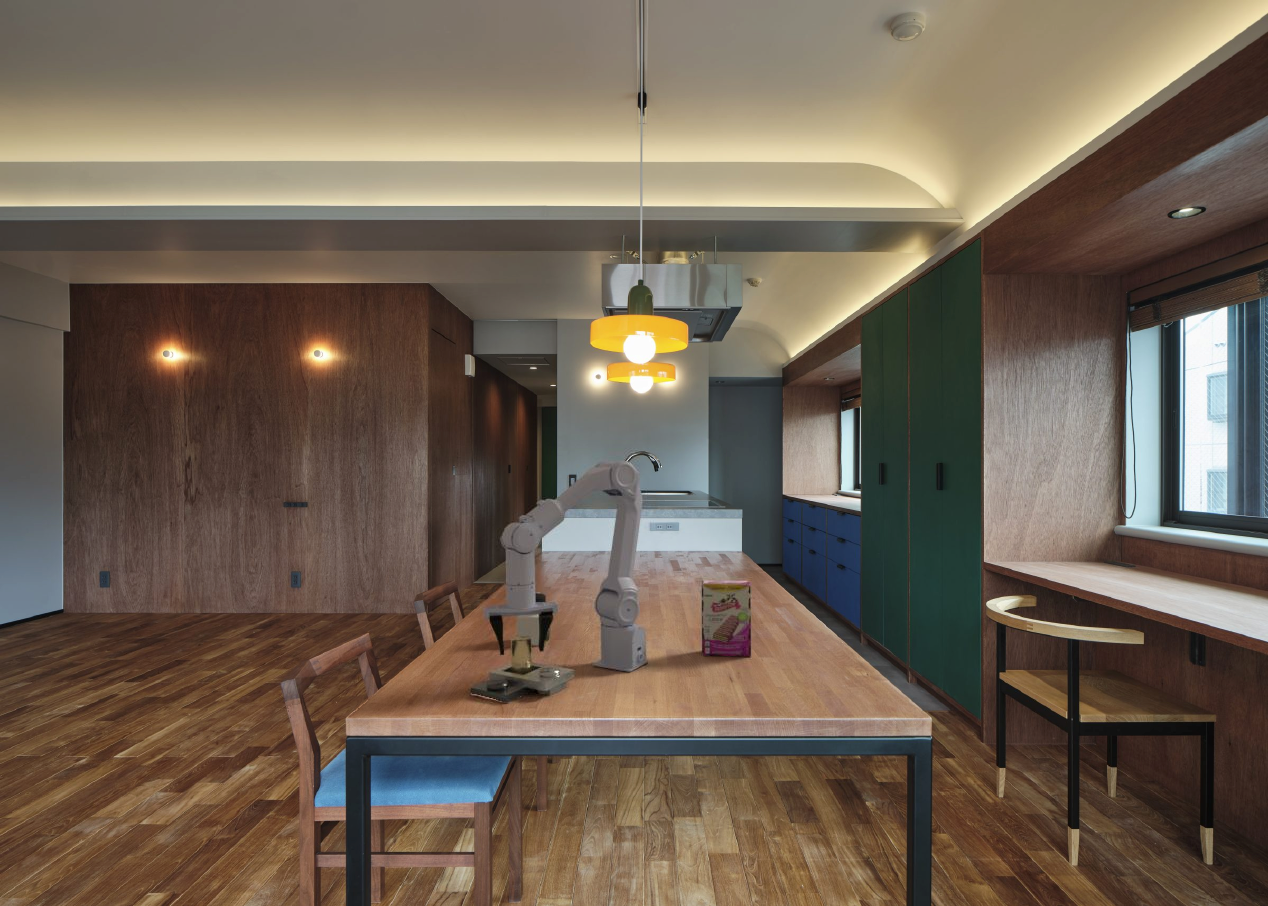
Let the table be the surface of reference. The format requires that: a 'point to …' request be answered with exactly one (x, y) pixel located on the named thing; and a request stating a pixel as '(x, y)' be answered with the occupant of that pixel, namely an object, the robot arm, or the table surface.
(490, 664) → the table surface
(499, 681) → the black base board
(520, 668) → the brass pin
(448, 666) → the table surface
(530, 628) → the medicine bottle
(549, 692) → the grey square hole plate
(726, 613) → the candy bar box
